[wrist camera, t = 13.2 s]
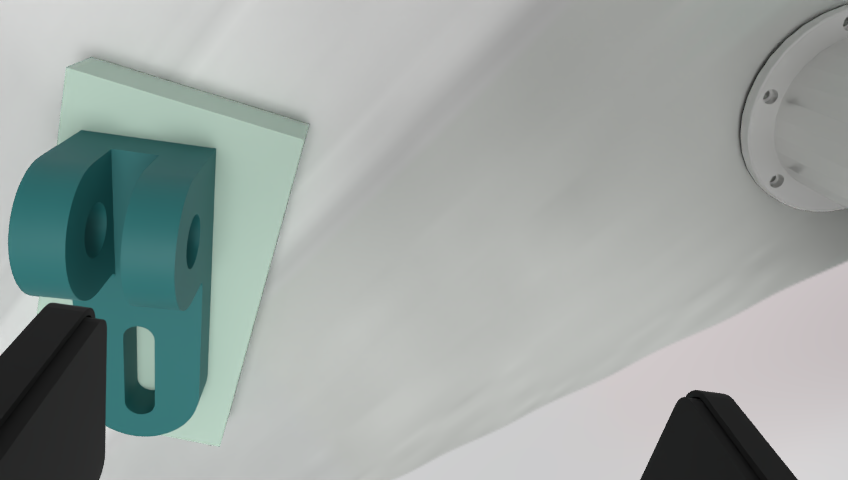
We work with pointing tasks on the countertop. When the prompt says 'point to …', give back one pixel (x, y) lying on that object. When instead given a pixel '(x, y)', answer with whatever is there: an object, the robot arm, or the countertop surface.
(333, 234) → the countertop surface
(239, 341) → the base plate
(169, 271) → the bracket
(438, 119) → the countertop surface
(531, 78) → the countertop surface
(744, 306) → the countertop surface
